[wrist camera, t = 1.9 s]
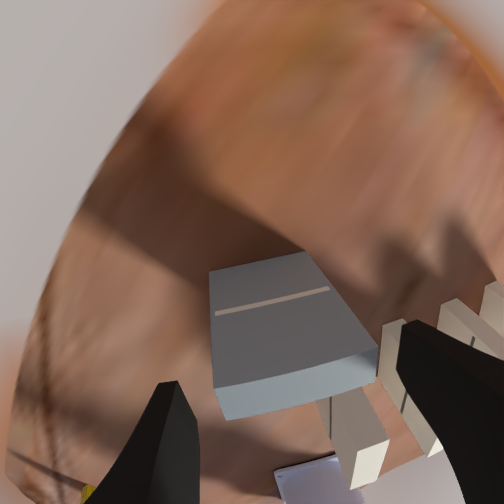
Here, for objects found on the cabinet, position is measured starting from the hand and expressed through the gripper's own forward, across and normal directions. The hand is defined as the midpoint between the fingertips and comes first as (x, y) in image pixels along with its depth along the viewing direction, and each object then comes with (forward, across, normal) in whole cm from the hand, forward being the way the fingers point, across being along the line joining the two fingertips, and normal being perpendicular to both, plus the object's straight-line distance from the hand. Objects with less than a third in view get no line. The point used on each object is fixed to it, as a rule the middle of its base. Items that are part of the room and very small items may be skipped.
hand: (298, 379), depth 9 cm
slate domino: (+8, 0, 0) cm, 8 cm away
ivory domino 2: (+8, -8, +8) cm, 14 cm away
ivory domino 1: (+8, -3, +8) cm, 12 cm away
